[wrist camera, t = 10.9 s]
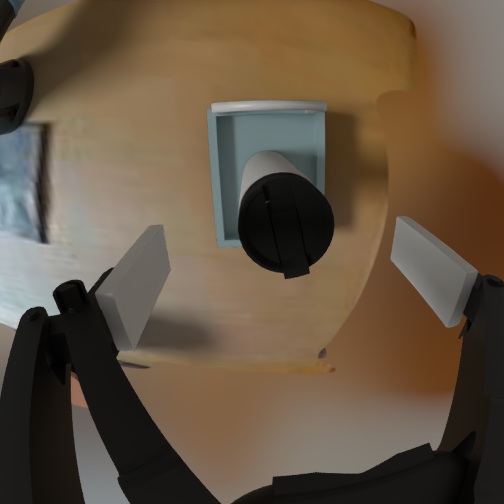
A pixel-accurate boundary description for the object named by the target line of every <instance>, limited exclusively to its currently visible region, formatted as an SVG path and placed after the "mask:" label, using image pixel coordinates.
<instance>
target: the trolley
mask: <svg viewBox="0 0 504 504" xmlns="http://www.w3.org/2000/svg"><path fill="white" fill-rule="evenodd" d="M327 107H328V106H327V102H325V101H304V100H257V101H236V102H222V103H212V109H207V119H208V135H209V151H210V165H211V178H212V190H213V202H214V214H215V225H216V235H217V245H218V248H225V247H242V244H241V242H240V239H239V234H238V210H239V200H240V192H241V185H242V177H243V170H244V166H245V164H246V162H247V161H248V160H249V158H250V157H252V156H253V155H254V154H256V153H258V152H261V151H274V152H277V153H279V154H281V155H282V156H284V157H285V158H286V159H287V160H288V161H289V162H291V163H292V164H293V165H294V166H295V167H296V168H297V169H298V170H299V171H300V172H302V173H303V174H304V175H305V176H306V177H307V178H308V179H309V180H310V181H311V182H312V183H313V184H314V185H315V186H316V187H317V189H318V190H319V191H320V192H321V193H322V194H323V195H324V194H325V111H327Z"/></svg>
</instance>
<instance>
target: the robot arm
mask: <svg viewBox="0 0 504 504" xmlns="http://www.w3.org/2000/svg"><path fill="white" fill-rule="evenodd" d="M24 1H25V0H0V42H1V40H2V39H3V37H4V35H5V33H6V31H7V29H8V28H9V26H10V24H11V22H12V20H13V19H15V18H16V16H17V14H18V11H19V9H20V8H21V6H22V4H23V3H24ZM33 83H34V80H33V72H32V69H31V66H30V65H29V64H28V63H27V62H26V61H24V60H19V59H11V60H8V61H5V62H2V63H0V135H3V134H8V133H10V132H12V131H13V130H15V129H16V128H17V127H18V125H19V124H20V123H21V121H22V120H23V118H24V116H25V115H26V112H27V110H28V108H29V105H30V101H31V98H32V93H33ZM390 260H391V261H392V262H393V263H394V264H395V265H396V266H397V267H398V268H399V269H400V271H401V272H402V273H403V274H404V275H405V276H406V278H407V279H408V280H409V281H410V282H411V283H412V285H413V286H414V287H415V288H416V289H417V291H418V292H419V293H420V294H421V295H422V297H423V298H424V299H425V300H426V302H427V303H428V304H429V305H430V306H431V308H432V309H433V310H434V312H435V313H436V314H437V316H438V317H439V318H440V319H441V321H442V322H443V323H444V325H445V326H446V327H447V328H448V327H452V326H456V325H459V322H460V320H461V318H462V315H463V314H464V315H465V316H466V317H467V320H466V322H465V325H464V327H463V329H462V331H461V333H460V335H459V339H460V338H461V336H463V343H462V350H461V358H460V365H459V371H458V377H457V382H456V387H455V392H454V396H453V401H452V405H451V409H450V413H449V417H448V421H447V424H446V428H445V431H444V434H443V438H442V441H441V443H440V445H439V447H438V449H437V450H436V451H432V449H431V446H430V443H427V444H424V445H421V446H419V447H416V448H413V449H411V450H407V451H405V452H402V453H398V454H396V455H394V456H393V457H391V458H389V459H388V460H386V461H384V462H382V463H380V464H379V465H377V466H375V467H373V468H371V469H370V470H367V471H365V472H363V473H359V474H341V473H319V472H315V473H308V474H299V475H289V476H278V477H273V482H272V485H269V486H265V487H262V488H259V489H257V490H254V491H251V492H249V493H247V494H245V495H243V496H242V497H240V498H238V499H237V500H235V501H234V502H233V503H231V504H504V282H503V281H502V280H501V279H499V278H498V277H496V276H493V275H484V276H482V275H481V274H480V273H479V272H478V271H477V270H476V269H475V268H473V267H472V266H471V265H470V264H469V263H468V262H466V261H465V260H464V259H463V258H462V257H460V256H459V255H458V254H457V253H456V252H454V251H453V250H452V249H451V248H449V247H448V246H447V245H445V244H444V243H443V242H441V241H440V240H439V239H438V238H436V237H435V236H434V235H432V234H431V233H430V232H428V231H427V230H426V229H424V228H423V227H422V226H420V225H419V224H418V223H416V222H415V221H413V220H412V219H410V218H409V217H406V216H403V217H402V216H401V217H400V216H398V217H397V221H396V228H395V235H394V242H393V247H392V253H391V258H390ZM170 270H171V268H170V263H169V258H168V252H167V247H166V241H165V235H164V229H163V225H152V226H149V227H148V228H147V229H146V231H145V232H144V233H143V234H142V235H141V236H140V237H139V239H138V240H137V241H136V242H135V243H134V245H133V246H132V247H131V248H130V249H129V251H128V252H127V253H126V254H125V255H124V257H123V258H122V259H121V260H120V261H119V263H118V264H117V265H116V266H115V268H110V269H109V270H107V271H106V272H104V273H103V274H102V276H101V277H100V278H99V279H98V281H97V282H96V283H95V284H94V286H93V287H92V288H91V289H90V291H89V292H88V293H87V291H86V289H85V286H84V283H83V282H82V281H81V280H70V281H67V282H64V283H62V284H61V285H59V286H58V287H57V288H56V289H55V290H54V291H53V297H54V300H55V302H56V304H57V307H58V309H59V311H60V313H61V314H59V315H54V316H48V314H47V312H46V309H45V308H44V307H40V306H39V307H34V308H30V309H29V310H27V311H26V312H25V313H24V314H23V315H22V317H21V319H20V322H19V325H18V328H17V331H16V334H15V337H14V341H13V344H12V348H11V351H10V356H9V359H8V363H7V367H6V372H5V376H4V381H3V386H2V391H1V397H0V504H85V501H84V497H83V492H82V488H81V483H80V479H79V478H80V477H79V472H78V466H77V459H76V452H75V444H74V436H73V423H72V406H71V363H73V365H74V368H75V372H76V375H77V378H78V381H79V384H80V387H81V390H82V392H83V395H84V398H85V401H86V403H87V406H88V408H89V411H90V413H91V416H92V418H93V421H94V422H95V425H96V428H97V430H98V432H99V434H100V436H101V439H102V441H103V443H104V445H105V447H106V449H107V451H108V453H109V455H110V457H111V459H112V461H113V463H114V465H115V466H116V468H117V471H118V472H119V477H118V478H117V479H118V483H119V485H120V487H121V489H122V491H123V493H124V494H125V496H126V498H127V499H128V501H129V502H130V504H221V503H220V502H219V501H218V500H217V499H216V498H215V497H214V496H213V495H212V494H211V493H210V491H209V490H208V489H207V488H206V487H205V486H204V485H203V484H202V483H201V481H200V480H199V479H198V478H197V477H196V476H195V475H194V473H193V472H192V471H191V470H190V469H189V467H188V466H187V465H186V464H185V463H184V461H183V460H182V459H181V457H180V456H179V455H178V454H177V452H175V450H174V449H173V448H172V446H171V445H170V444H169V443H168V441H167V440H166V438H165V437H164V436H163V434H162V433H161V431H160V430H159V428H158V427H157V426H156V424H155V423H154V421H153V420H152V418H151V417H150V415H149V414H148V412H147V410H146V409H145V407H144V406H143V404H142V403H141V401H140V399H139V398H138V396H137V394H136V393H135V391H134V389H133V388H132V386H131V384H130V382H129V381H128V379H127V377H126V376H125V373H124V372H123V370H122V368H121V366H120V364H119V362H118V360H117V359H116V357H115V355H114V353H113V351H112V349H111V347H110V345H111V343H112V341H114V343H115V345H116V347H117V350H120V351H131V352H134V351H135V349H136V346H137V344H138V342H139V339H140V337H141V335H142V332H143V330H144V327H145V325H146V323H147V321H148V318H149V316H150V314H151V311H152V309H153V307H154V305H155V303H156V300H157V298H158V296H159V294H160V292H161V289H162V287H163V285H164V283H165V281H166V279H167V277H168V274H169V272H170Z"/></svg>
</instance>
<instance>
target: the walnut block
mask: <svg viewBox="0 0 504 504" xmlns="http://www.w3.org/2000/svg"><path fill="white" fill-rule="evenodd" d="M326 353H327V352H326V349H325V348H323V349H322V350H321V351H320V352H319V353H318V358H325V357H326Z"/></svg>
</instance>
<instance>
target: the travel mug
mask: <svg viewBox="0 0 504 504" xmlns="http://www.w3.org/2000/svg"><path fill="white" fill-rule="evenodd" d="M333 233H334V216H333V212H332V209H331V206H330V205H329V203H328V201H327V199H326V198H325V196H324V195H323V194H322V193H321V192H320V191H319V190H318V189H317V187H316V186H315V185H314V184H313V183H312V182H311V181H310V180H309V179H308V178H307V177H306V176H305V175H304V174H303V173H302V172H300V171H299V170H298V169H297V168H296V167H295V166H294V165H293V164H292V163H291V162H289V161H288V160H287V159H286V158H285V157H284V156H282V155H281V154H279V153H277V152H274V151H261V152H258V153H256V154H254V155H253V156H252V157H250V158H249V160H248V161H247V162H246V164H245V166H244V170H243V177H242V185H241V192H240V200H239V210H238V234H239V239H240V242H241V244H242V247H243V249H244V250H245V252H246V253H247V255H248V256H249V257H250V258H251V259H252V260H253V261H254V262H255V263H257V264H258V265H260V266H261V267H263V268H265V269H267V270H270V271H274V272H279V273H284V276H285V279H290V278H295V277H299V276H303V275H306V274H309V273H310V271H309V267H310V266H311V265H313V264H314V263H316V262H317V261H318V260H319V259H320V258H321V257H322V256H323V255H324V253H325V252H326V251H327V249H328V247H329V245H330V243H331V240H332V237H333Z"/></svg>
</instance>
